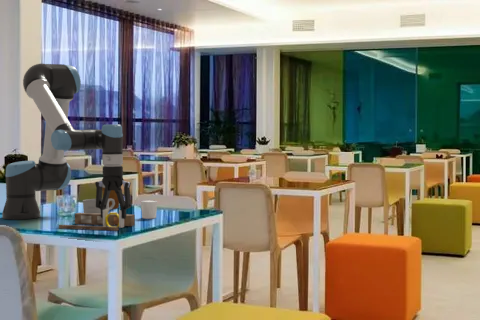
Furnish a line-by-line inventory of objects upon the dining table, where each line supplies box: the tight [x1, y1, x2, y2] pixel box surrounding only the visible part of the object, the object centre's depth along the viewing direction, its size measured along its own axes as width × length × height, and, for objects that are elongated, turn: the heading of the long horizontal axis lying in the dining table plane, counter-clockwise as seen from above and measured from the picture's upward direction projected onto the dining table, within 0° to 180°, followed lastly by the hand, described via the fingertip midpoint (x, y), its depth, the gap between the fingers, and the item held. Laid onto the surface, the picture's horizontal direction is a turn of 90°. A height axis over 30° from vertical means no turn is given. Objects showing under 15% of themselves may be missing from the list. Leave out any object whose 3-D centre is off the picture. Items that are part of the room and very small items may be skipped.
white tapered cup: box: [140, 199, 158, 220], centre depth 295 cm, size 7×7×7 cm
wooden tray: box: [58, 212, 136, 232], centre depth 270 cm, size 24×15×5 cm, turn 74°
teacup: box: [82, 197, 115, 214], centre depth 295 cm, size 14×11×8 cm
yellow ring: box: [105, 211, 119, 227], centre depth 267 cm, size 6×3×6 cm, turn 73°
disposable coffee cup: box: [102, 184, 120, 210], centre depth 328 cm, size 10×10×12 cm
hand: (113, 226), depth 268 cm, fingers closed on yellow ring, 6 cm apart
